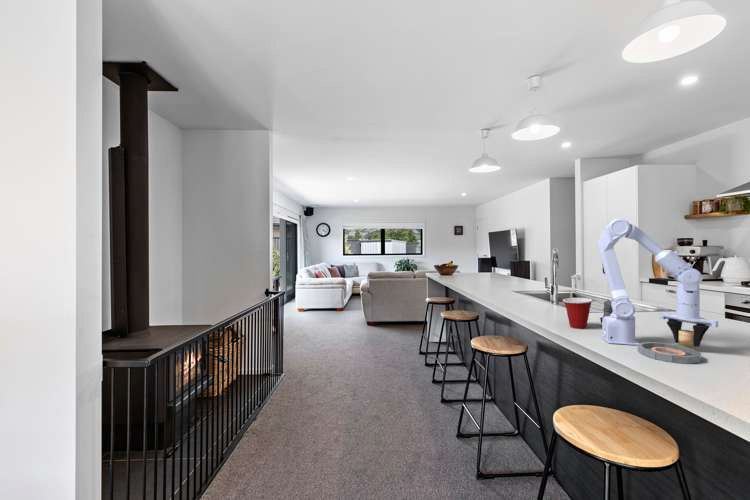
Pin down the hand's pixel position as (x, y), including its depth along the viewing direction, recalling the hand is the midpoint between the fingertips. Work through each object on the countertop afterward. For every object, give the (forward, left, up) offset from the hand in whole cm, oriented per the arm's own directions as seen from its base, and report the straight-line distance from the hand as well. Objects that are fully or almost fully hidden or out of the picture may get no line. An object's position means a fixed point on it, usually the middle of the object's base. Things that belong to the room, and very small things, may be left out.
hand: (687, 344), depth 113 cm
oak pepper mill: (0, 0, -2) cm, 2 cm away
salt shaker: (-15, +26, -2) cm, 30 cm away
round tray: (-9, -9, -2) cm, 13 cm away
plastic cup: (-27, +23, -2) cm, 36 cm away
